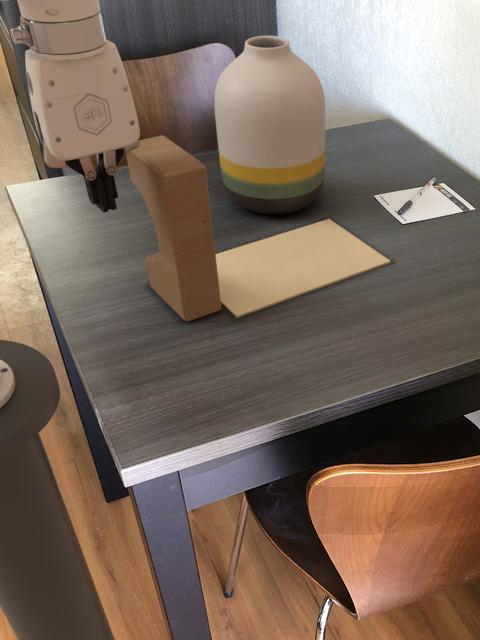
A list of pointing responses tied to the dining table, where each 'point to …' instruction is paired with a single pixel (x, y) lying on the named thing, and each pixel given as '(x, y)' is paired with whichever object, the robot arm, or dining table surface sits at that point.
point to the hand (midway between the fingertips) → (105, 206)
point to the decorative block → (178, 226)
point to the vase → (270, 128)
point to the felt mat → (291, 266)
